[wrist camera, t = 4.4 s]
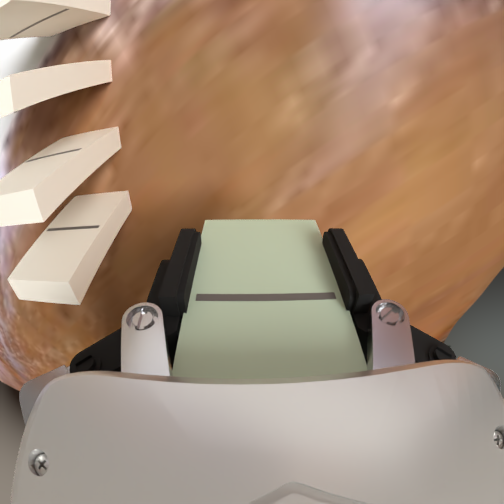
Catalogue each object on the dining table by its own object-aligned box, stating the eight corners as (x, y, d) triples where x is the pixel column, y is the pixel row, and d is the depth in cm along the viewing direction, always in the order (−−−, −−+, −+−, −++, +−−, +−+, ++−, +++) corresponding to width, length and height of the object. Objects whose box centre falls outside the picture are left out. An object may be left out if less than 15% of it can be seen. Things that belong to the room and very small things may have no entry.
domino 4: (132, 209, 21) (80, 305, 13) (80, 213, 21) (19, 299, 13) (128, 190, 20) (68, 282, 12) (75, 195, 20) (7, 279, 12)
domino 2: (112, 81, 15) (14, 112, 7) (55, 97, 15) (-45, 142, 7) (110, 59, 14) (9, 74, 6) (52, 77, 14) (-50, 111, 6)
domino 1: (110, 15, 12) (11, 0, 4) (51, 36, 12) (-53, 50, 4) (110, -4, 11) (15, -31, 3) (51, 18, 11) (-51, 23, 3)
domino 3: (121, 148, 18) (44, 222, 10) (66, 157, 18) (-17, 229, 10) (118, 126, 17) (32, 188, 9) (62, 137, 17) (-27, 201, 9)
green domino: (311, 249, 14) (364, 459, 6) (207, 249, 14) (175, 467, 6) (315, 219, 13) (387, 442, 5) (205, 219, 13) (159, 453, 5)
